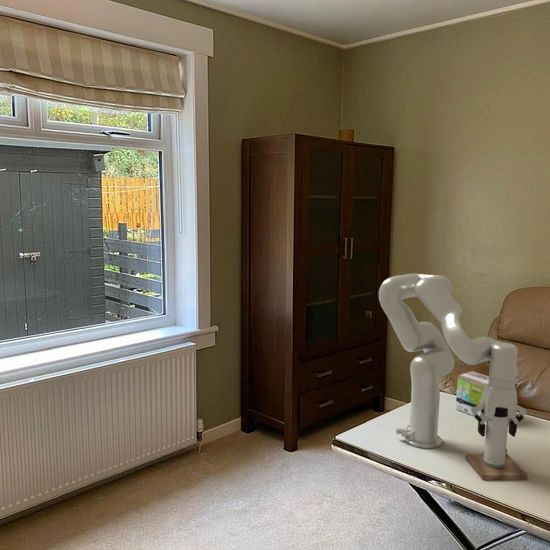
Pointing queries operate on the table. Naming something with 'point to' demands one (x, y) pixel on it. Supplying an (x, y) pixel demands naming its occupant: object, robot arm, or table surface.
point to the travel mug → (496, 439)
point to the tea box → (470, 391)
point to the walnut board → (488, 473)
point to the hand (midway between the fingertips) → (496, 434)
